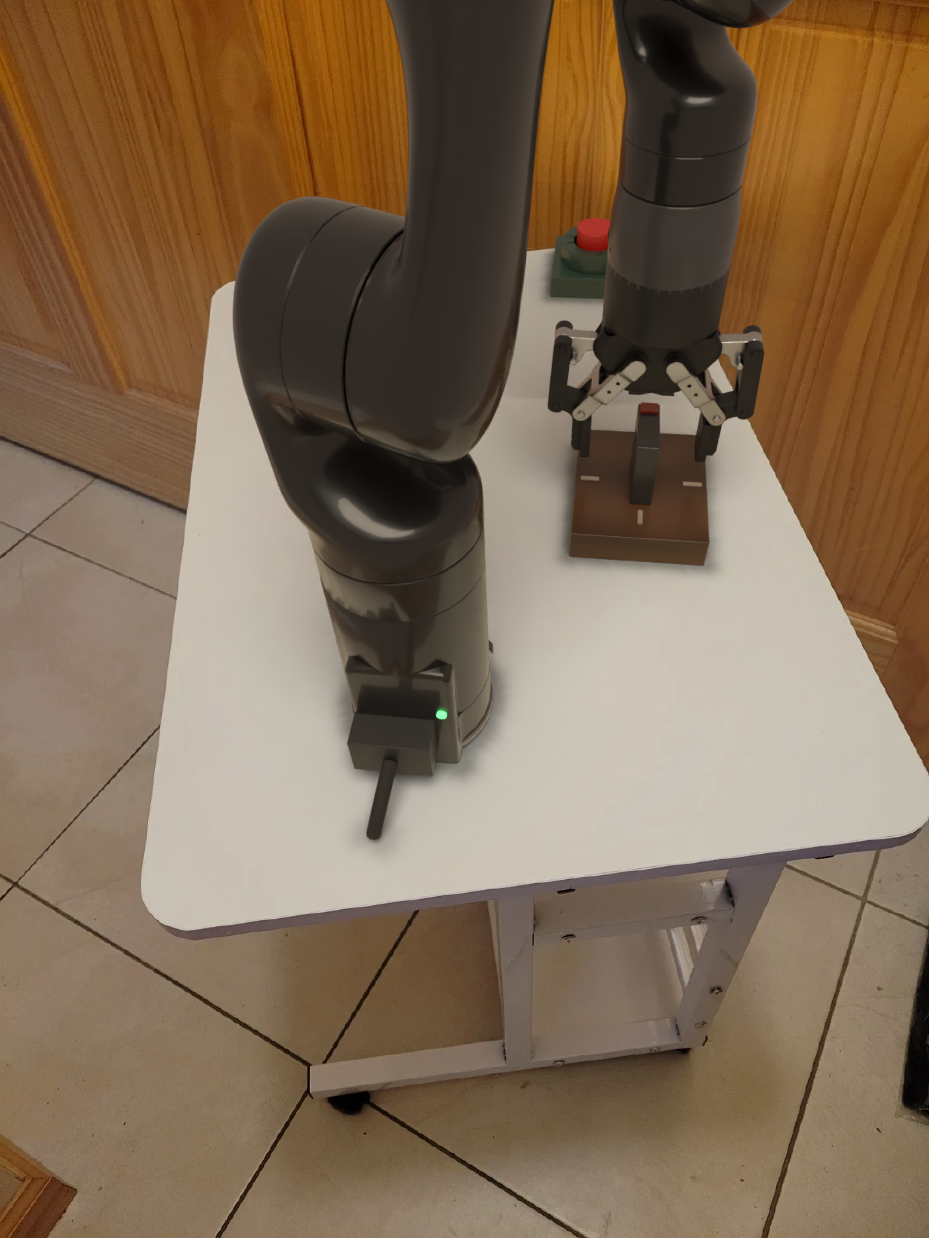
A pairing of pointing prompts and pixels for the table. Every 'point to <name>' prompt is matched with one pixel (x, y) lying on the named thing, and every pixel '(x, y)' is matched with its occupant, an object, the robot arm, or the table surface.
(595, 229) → the button
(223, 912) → the table surface
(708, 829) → the table surface
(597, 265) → the button box
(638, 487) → the lock knob
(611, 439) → the panel
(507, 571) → the table surface
